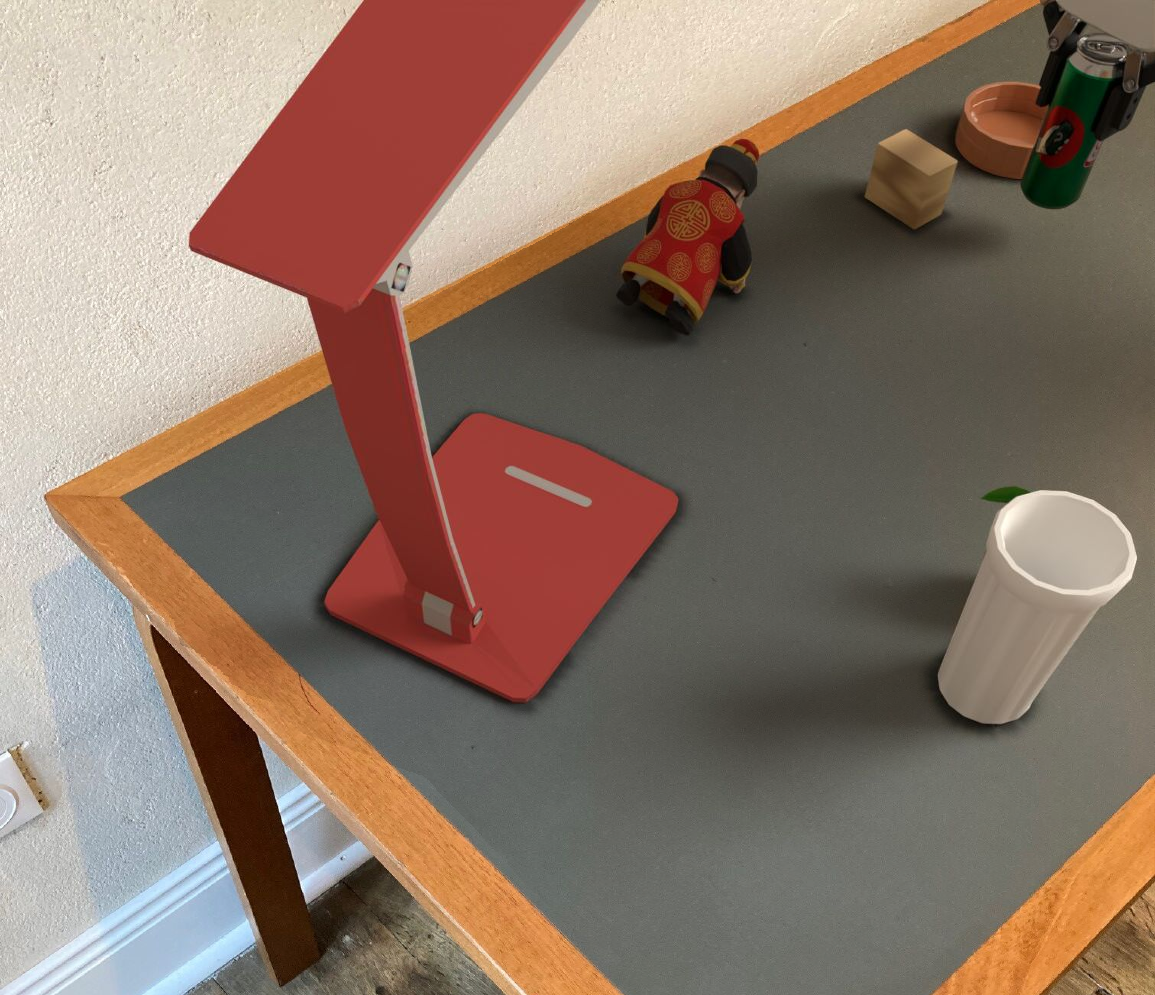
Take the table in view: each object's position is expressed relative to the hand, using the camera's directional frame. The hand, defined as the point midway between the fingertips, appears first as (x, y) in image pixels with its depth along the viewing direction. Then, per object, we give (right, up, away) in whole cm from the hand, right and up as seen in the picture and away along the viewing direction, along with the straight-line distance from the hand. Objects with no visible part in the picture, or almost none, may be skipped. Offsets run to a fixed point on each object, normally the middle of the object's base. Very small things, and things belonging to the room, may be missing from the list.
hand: (1079, 114), depth 93 cm
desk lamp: (-44, -35, -9) cm, 57 cm away
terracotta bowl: (+1, +6, +16) cm, 17 cm away
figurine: (-31, -12, +5) cm, 33 cm away
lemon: (-10, -40, -12) cm, 43 cm away
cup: (-13, -47, -16) cm, 51 cm away
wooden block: (-11, -2, +11) cm, 16 cm away
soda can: (0, -4, +6) cm, 7 cm away
